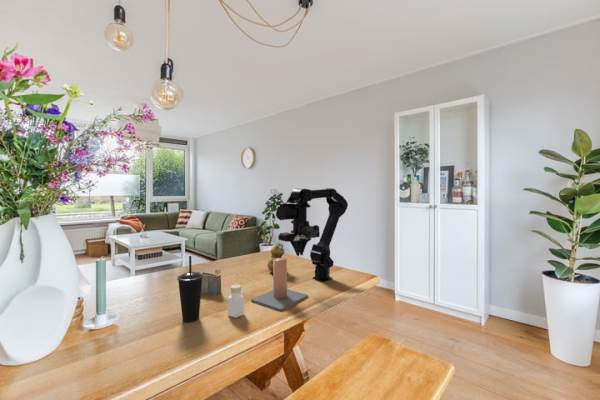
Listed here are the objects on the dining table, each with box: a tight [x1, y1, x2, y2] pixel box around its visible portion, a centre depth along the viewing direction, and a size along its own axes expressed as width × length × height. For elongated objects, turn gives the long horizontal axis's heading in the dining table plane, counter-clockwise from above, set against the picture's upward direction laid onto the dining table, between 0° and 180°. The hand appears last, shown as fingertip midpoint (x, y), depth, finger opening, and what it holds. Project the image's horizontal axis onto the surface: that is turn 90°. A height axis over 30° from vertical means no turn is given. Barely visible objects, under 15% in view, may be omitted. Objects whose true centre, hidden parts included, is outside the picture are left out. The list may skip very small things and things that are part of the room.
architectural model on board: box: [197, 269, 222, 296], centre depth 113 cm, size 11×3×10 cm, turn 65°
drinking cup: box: [177, 255, 203, 323], centre depth 89 cm, size 8×8×20 cm
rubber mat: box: [251, 288, 309, 312], centre depth 106 cm, size 16×14×1 cm
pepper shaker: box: [227, 284, 245, 319], centre depth 92 cm, size 4×4×10 cm
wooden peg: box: [272, 257, 288, 299], centre depth 105 cm, size 5×5×14 cm
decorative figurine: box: [267, 241, 285, 274], centre depth 139 cm, size 10×8×15 cm
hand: (299, 255), depth 120 cm, fingers closed
